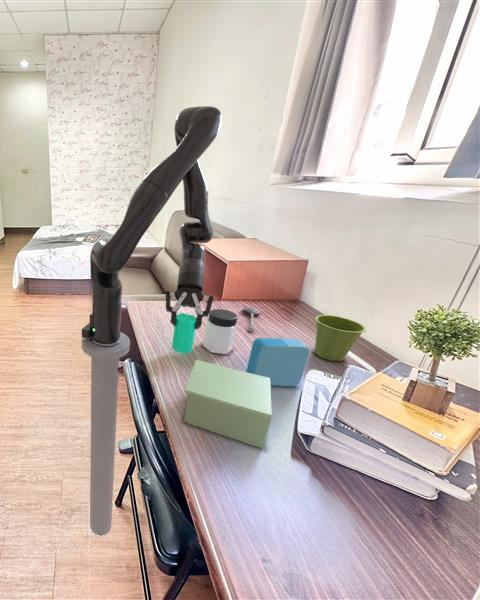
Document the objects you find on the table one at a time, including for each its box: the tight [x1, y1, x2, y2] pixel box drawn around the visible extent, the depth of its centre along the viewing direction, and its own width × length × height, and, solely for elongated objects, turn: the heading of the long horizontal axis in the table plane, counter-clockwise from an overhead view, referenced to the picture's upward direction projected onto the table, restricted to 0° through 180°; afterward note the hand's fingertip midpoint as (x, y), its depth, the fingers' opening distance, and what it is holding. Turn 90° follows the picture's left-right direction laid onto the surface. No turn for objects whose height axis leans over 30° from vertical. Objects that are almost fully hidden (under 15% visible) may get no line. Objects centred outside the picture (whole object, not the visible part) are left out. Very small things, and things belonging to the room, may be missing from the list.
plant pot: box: [314, 314, 367, 362], centre depth 94 cm, size 12×12×11 cm
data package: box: [245, 337, 310, 387], centre depth 82 cm, size 12×4×12 cm, turn 86°
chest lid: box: [184, 359, 273, 419], centre depth 69 cm, size 16×14×1 cm
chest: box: [183, 394, 272, 449], centre depth 71 cm, size 16×14×8 cm
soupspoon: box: [242, 306, 262, 333], centre depth 119 cm, size 22×3×7 cm
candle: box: [171, 312, 197, 354], centre depth 92 cm, size 6×6×12 cm
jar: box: [202, 308, 239, 355], centre depth 98 cm, size 9×8×12 cm
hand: (185, 326), depth 90 cm, fingers closed on candle, 6 cm apart
